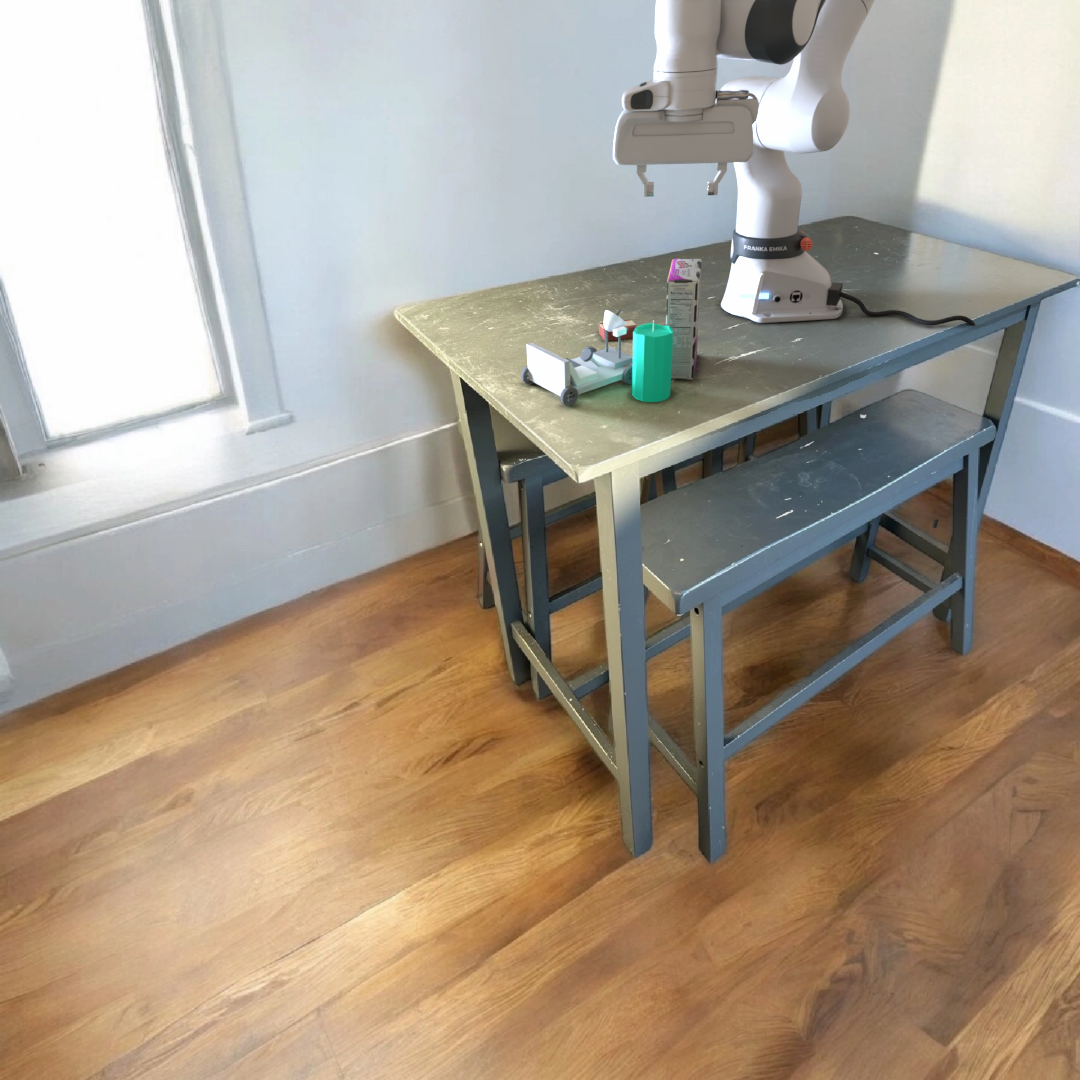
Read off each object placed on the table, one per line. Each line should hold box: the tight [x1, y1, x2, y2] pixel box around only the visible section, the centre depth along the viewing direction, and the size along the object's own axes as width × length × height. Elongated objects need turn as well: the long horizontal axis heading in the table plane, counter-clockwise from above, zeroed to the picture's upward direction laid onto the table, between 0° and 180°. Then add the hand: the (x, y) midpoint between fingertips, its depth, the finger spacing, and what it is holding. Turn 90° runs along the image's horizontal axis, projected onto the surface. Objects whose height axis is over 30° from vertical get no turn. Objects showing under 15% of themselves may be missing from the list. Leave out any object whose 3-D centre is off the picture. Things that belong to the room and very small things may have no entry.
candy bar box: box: [665, 257, 703, 381], centre depth 137 cm, size 11×5×16 cm, turn 168°
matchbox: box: [598, 319, 638, 342], centre depth 154 cm, size 6×4×2 cm, turn 102°
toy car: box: [520, 308, 633, 407], centre depth 136 cm, size 18×10×12 cm
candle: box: [631, 319, 673, 403], centre depth 130 cm, size 6×6×12 cm
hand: (680, 195), depth 128 cm, fingers open, 8 cm apart
